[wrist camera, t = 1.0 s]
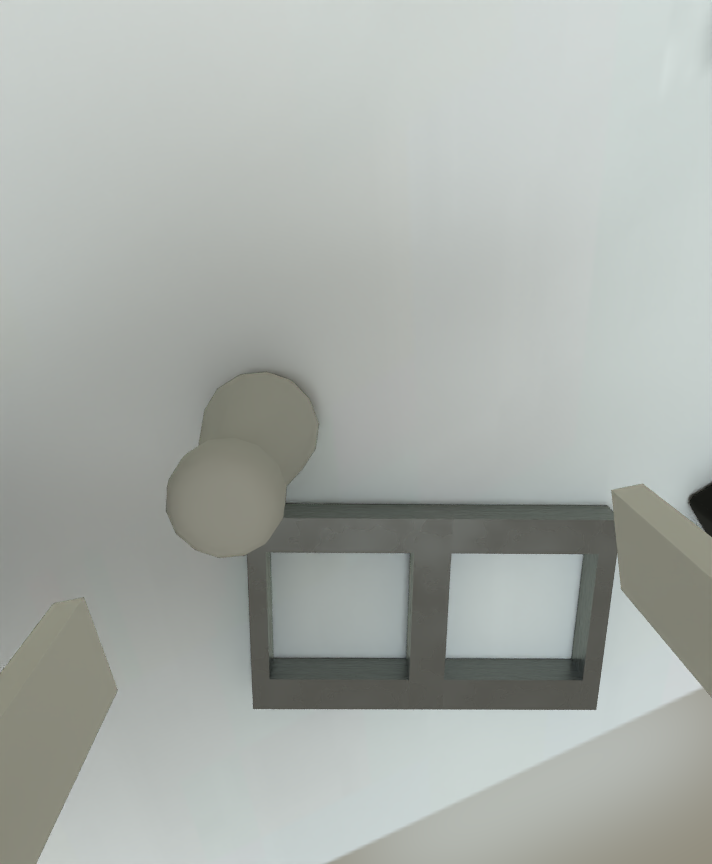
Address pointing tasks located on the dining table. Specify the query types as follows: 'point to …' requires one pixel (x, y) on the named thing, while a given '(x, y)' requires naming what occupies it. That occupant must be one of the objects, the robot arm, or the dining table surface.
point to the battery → (703, 508)
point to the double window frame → (436, 608)
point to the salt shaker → (242, 465)
